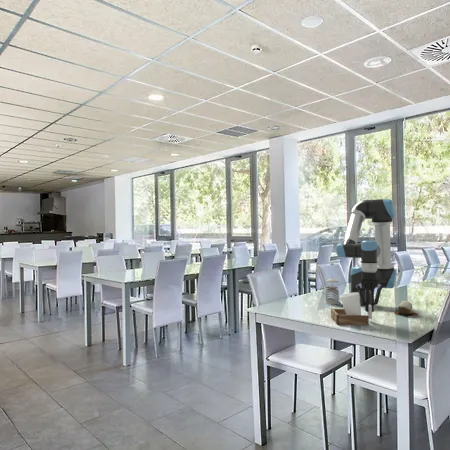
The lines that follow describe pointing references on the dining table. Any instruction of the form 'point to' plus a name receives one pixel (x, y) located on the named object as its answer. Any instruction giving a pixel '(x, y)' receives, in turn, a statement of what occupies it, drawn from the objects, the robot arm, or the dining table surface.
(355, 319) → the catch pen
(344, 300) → the foam cup
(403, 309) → the white and brown lump
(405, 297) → the dining table surface
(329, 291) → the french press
